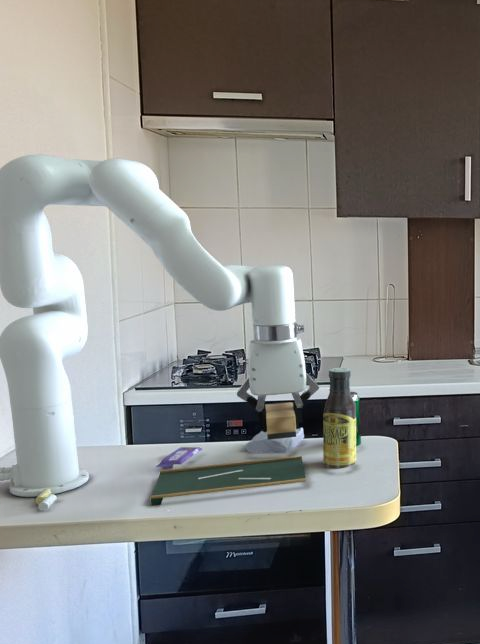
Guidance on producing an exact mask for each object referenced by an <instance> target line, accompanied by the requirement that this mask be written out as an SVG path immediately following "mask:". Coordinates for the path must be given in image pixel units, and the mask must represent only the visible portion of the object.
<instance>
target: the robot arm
mask: <svg viewBox="0 0 480 644" xmlns="http://www.w3.org/2000/svg"><path fill="white" fill-rule="evenodd" d="M159 186H160V185H159V180H158V178H157V176H156V174H155V172H154V171H153V170H152V169H151V167H148V166H147V165H146V164H144V163H142V162H141V161H137V160H131V159H125V158H117V157H114V158H108V159H105V160H91V159H77V158H69V157H63V156H61V157H59V156H55V155H49V154H27V155H22V156H19V157H15V158H14V159H12V160H9V161H8V162H7V163H5V164H4V165H3V166H2V167H0V291H1V294H2V296H3V298H4V300H6V303H9V304H10V305H12V306H14V307H16V308H20V309H32V312H33V314H31V315H27V316H23V317H20V318H17V319H15V320H14V321H12V322H10V323H9V324H8V325H6V327H5V328H4V329H3V330H2V332H1V333H0V362H1V365H2V368H3V371H4V374H5V379H6V383H7V389H8V395H9V396H8V397H9V404H10V410H11V421H12V429H13V439H14V448H15V456H16V464H12V465H11V466H10V467H9V466H8V467H0V482H1V481H2V482H3V481H10V484H9V486H8V487H9V492H10V494H11V495H14V496H17V497H23V498H25V497H26V498H34V497H35V498H37V497H38V496H39V494H40V493H41V492H42V491H43V490H44V489H49V490H51V494H54V495H56V494H61V493H66V492H69V491H73V490H74V489H77V488H80V487H81V486H83V485H84V484H86V483H87V482H88V481H89V479H90V474H89V471H88V470H86V469H84V468H80V467H79V457H78V447H77V436H76V427H75V417H74V407H73V398H72V389H71V384H70V380H69V376H68V374H67V372H66V369H65V367H64V364H63V361H64V360H67V359H69V358H72V357H74V356H75V355H77V354H79V353H80V352H81V351H82V349H83V348H84V347H85V345H86V343H87V340H88V333H89V332H88V331H89V328H88V326H89V325H88V316H87V315H88V314H87V306H86V297H85V296H86V295H85V287H84V279H83V276H82V274H81V271H80V269H79V267H78V266H77V264H76V263H75V262H74V261H73V260H72V259H71V258H70V257H68V256H66V255H65V254H61V253H57V252H54V246H53V235H52V229H51V226H50V223H49V220H48V218H47V216H46V214H45V207H47V206H49V205H52V206H53V205H54V206H82V207H83V206H85V207H106V208H107V209H108V210H109V211H110V212H111V213H112V214H114V215H115V216H116V217H117V218H118V220H120V221H122V223H123V224H125V225H126V227H128V228H129V229H130V230H131V231H133V232H134V234H135V235H137V236H138V237H139V238H140V239H141V240H142V241H143V242H144V243H145V244H146V245H148V247H150V248H151V250H152V252H153V255H154V256H155V257H156V259H157V260H158V261H159V263H160V264H161V265H162V267H163V268H164V269H165V271H166V272H167V273H168V275H169V276H170V277H171V279H173V280H174V281H175V282H176V283H177V284H178V285H179V286H180V287H181V288H182V289H183V290H184V291H186V292H187V293H188V294H189V295H190V296H192V297H193V298H194V299H195V301H197V302H198V303H200V304H201V305H203V306H204V307H206V308H208V309H210V310H212V311H220V312H221V311H228V310H230V309H232V308H235V307H237V306H240V305H243V304H251V315H252V316H251V317H252V318H251V319H252V331H253V340H250V341H249V346H248V357H247V358H248V360H247V361H248V362H247V363H248V364H247V365H248V376H247V378H246V379H245V381H244V382H243V383H242V384H241V386H240V387H239V389H238V390H237V391H236V396H237V397H238V398H240V399H241V400H243V401H245V402H246V403H247V404H249V405H250V406H251V407H252V408H254V409H255V410H256V411H257V416H258V417H257V418H258V427H259V428H262V431H263V432H266V431H267V422H266V407H265V404H266V403H265V402H266V399H267V396H276V395H287V394H291V396H292V398H293V401H294V402H293V409H294V413H295V422H296V429H299V428H300V426H299V424H303V415H302V414H303V413H302V408H303V406H304V405H305V403H306V402H307V401H308V400H309V399H310V398H311V397H312V396H313V395H314V394H315V393H316V392H318V391H319V389H320V385H319V384H318V383H317V382H316V381H315V380H314V378H313V377H311V376H310V374H309V373H307V371H306V362H305V354H304V348H303V347H304V346H303V343H302V340H301V338H300V337H298V335H299V334H301V333H305V326H304V324H298V323H296V307H295V306H296V305H295V289H294V275H293V271H292V269H291V268H290V267H289V266H287V265H283V264H282V265H279V264H278V265H277V264H274V265H273V264H272V265H271V264H270V265H258V266H252V265H251V266H250V265H243V264H242V265H241V264H226V265H222V263H220V262H219V261H218V260H217V259H216V258H215V257H214V256H212V255H211V254H210V253H209V252H208V251H207V250H206V249H205V248H204V247H203V246H202V245H201V243H200V242H199V241H198V240H197V238H196V236H195V235H194V233H193V232H192V228H191V222H190V218H189V216H188V215H187V213H186V212H185V211H184V210H183V209H182V208H181V207H180V206H179V205H177V204H176V202H174V201H173V200H172V199H171V198H170V197H169V196H168V195H167V194H165V193H164V192H163V191H162V190H161V189H160V187H159ZM307 386H308V388H307ZM248 390H249V391H250V393H251V394H252V395H251V394H250V393H248ZM303 391H304V392H303ZM301 392H303V393H301ZM300 393H301V394H300ZM255 396H257V398H256V397H255Z"/></svg>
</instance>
